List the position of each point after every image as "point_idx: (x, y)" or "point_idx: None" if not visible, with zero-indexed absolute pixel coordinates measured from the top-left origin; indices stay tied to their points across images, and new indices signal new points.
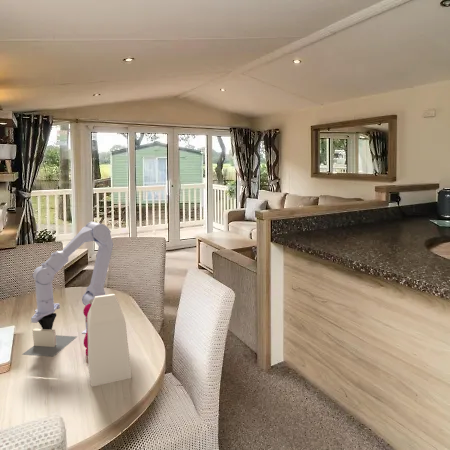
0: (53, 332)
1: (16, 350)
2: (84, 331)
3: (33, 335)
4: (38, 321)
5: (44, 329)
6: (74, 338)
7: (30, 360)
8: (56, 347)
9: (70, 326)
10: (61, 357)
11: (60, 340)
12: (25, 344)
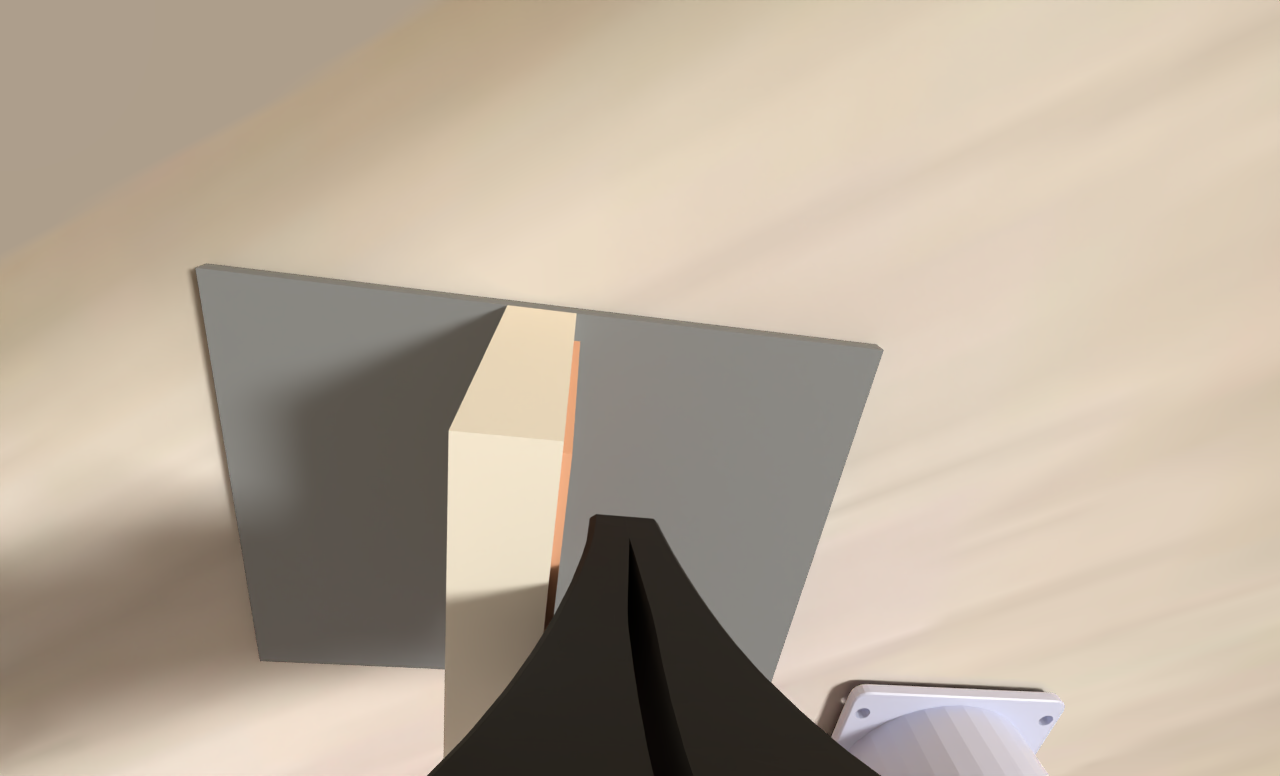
0: None
1: (343, 60)
2: (888, 708)
3: (472, 385)
4: (459, 754)
5: (520, 641)
6: None
7: (118, 452)
8: None
9: (1135, 490)
10: (294, 709)
11: None
12: (583, 106)
